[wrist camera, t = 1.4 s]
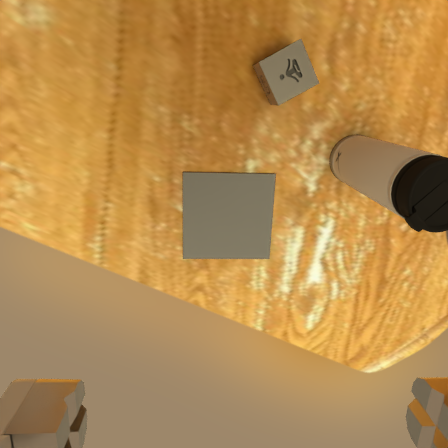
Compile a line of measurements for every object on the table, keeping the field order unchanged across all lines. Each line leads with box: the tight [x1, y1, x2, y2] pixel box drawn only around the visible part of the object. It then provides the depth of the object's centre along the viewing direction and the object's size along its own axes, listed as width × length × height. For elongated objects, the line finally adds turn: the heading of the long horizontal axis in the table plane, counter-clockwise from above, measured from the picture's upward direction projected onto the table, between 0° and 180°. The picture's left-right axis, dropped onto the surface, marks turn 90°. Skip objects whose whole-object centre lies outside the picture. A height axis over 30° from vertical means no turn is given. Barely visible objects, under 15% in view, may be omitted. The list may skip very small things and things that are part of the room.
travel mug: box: [330, 135, 448, 232], centre depth 40 cm, size 6×7×20 cm
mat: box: [183, 172, 276, 259], centre depth 51 cm, size 12×12×1 cm
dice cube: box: [253, 39, 319, 105], centre depth 44 cm, size 5×5×5 cm
